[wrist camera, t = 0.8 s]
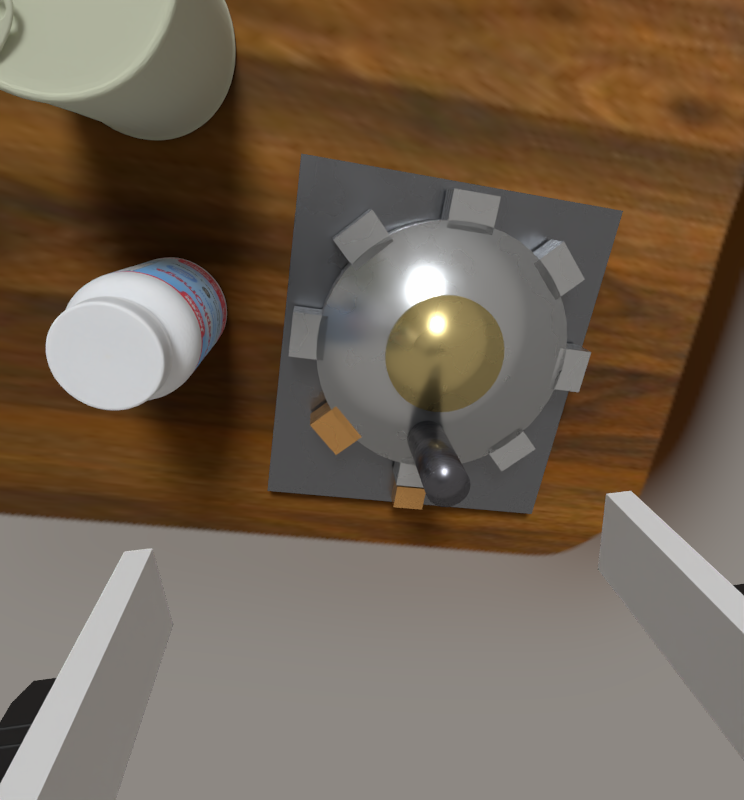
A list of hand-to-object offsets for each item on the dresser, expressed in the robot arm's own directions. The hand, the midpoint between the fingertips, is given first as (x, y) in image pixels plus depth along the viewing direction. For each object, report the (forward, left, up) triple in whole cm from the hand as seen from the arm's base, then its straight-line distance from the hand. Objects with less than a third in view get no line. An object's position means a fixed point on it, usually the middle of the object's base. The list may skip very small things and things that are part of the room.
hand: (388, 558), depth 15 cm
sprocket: (+5, +2, -19) cm, 19 cm away
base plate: (+5, +2, -20) cm, 21 cm away
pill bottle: (-11, +2, -20) cm, 23 cm away
